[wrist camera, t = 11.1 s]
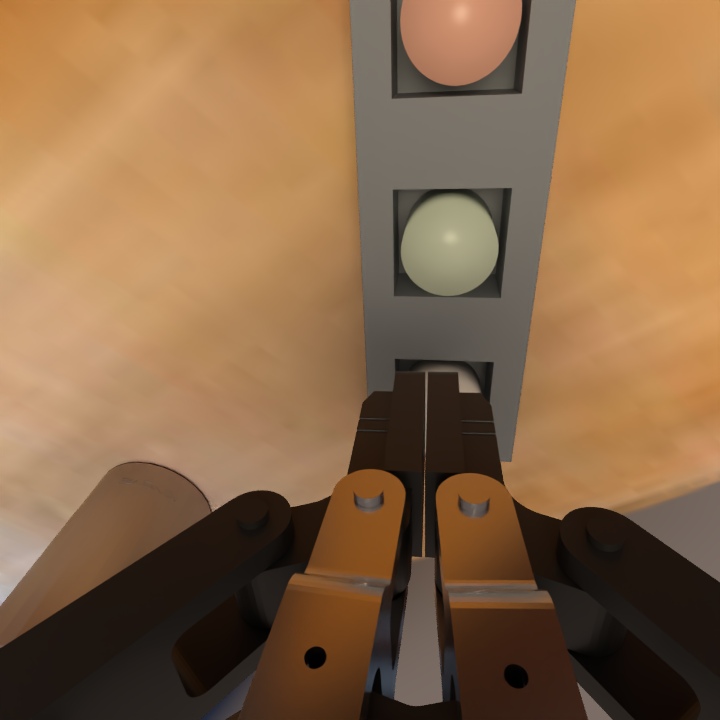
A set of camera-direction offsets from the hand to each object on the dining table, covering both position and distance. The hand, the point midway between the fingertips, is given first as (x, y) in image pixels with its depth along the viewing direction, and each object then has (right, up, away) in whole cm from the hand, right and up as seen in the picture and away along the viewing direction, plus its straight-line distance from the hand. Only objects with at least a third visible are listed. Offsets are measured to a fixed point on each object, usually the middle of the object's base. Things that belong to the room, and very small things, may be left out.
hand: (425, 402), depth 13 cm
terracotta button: (+2, +15, +8) cm, 17 cm away
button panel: (+3, +8, +14) cm, 16 cm away
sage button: (+3, +7, +13) cm, 15 cm away
